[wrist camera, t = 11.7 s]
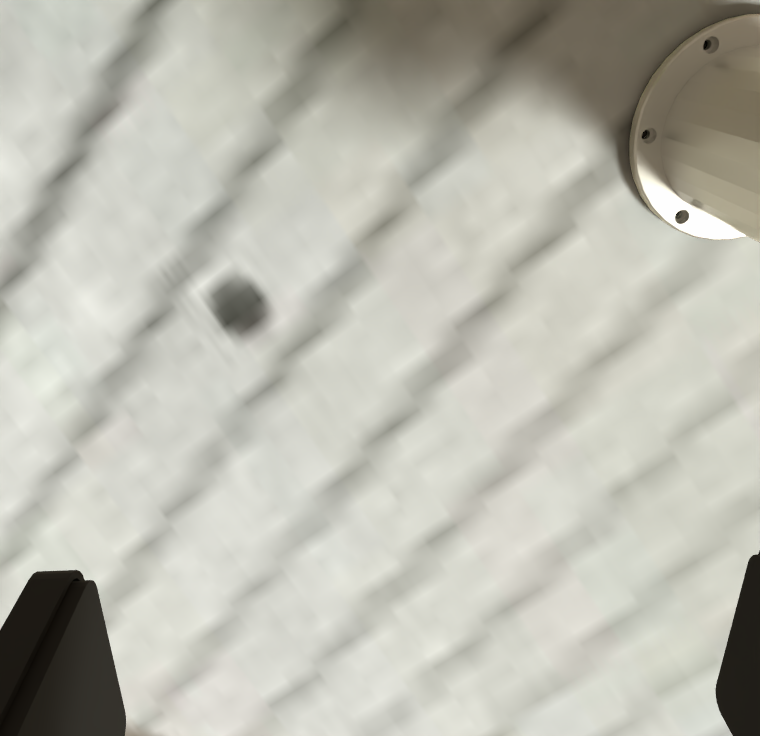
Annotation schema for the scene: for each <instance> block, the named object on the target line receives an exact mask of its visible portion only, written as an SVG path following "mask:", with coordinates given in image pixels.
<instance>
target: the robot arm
mask: <svg viewBox="0 0 760 736" xmlns="http://www.w3.org/2000/svg"><path fill="white" fill-rule="evenodd" d="M705 40H707V42H708V45H707V47H706V48H705V49H704V50H703V44H704V42H705ZM645 130H647V135H646V137H645V138H642V137H641V136H642V133H643V131H645ZM629 160H630V165H631V170H632V175H633V180H634V182H635V184H636V187H637V189H638V191H639V194H640V196H641V197H642V199H643V200H644V202H645V203H646V204H647V206H648V207H649V209H650V210H651V211H652V212H653V213H654V214H655V215H657V216H658V217H659V218H660V219H661V220H662V221H663V222H665V223H666V224H668V225H669V226H671V227H673V228H674V229H676V230H678V231H680V232H683V233H685V234H688V235H690V236H693V237H697V238H703V239H709V240H731V239H736V238H741V237H746V236H748V237H750V238H752V239H754V240H755V241H757V242H759V243H760V14H746V15H742V16H737V17H733V18H728V19H724V20H722V21H720V22H717V23H715V24H713V25H710V26H708V27H706V28H704V29H702V30H701V31H699V32H698V33H696V34H695V35H693V36H692V37H690V38H688V39H687V40H685V41H684V42H683V43H682V44H681V45H680V46H679V47H678V48H676V49H675V50H674V51H673V52H672V53H671V54H670V55H669V56H668V57H667V58H666V59H665V60H664V62H663V63H662V64H661V65H660V67H659V68H658V69H657V71H656V72H655V73H654V74H653V76H652V77H651V79H650V81H649V83H648V84H647V86H646V88H645V90H644V92H643V93H642V95H641V97H640V100H639V103H638V106H637V108H636V111H635V114H634V117H633V121H632V127H631V132H630V138H629ZM679 211H680V213H679V215H678V216H677V217H675V216H676V213H677V212H679ZM716 699H717V704H718V707H719V710H720V712H721V715H722V717H723V718H724V720H725V722H726V724H727V726H728V728H729V729H730V731H731V733H732V735H733V736H760V551H759V554H758V555H753V556H752V557H751V558H750V560H749V562H748V565H747V569H746V573H745V577H744V581H743V584H742V588H741V592H740V596H739V600H738V604H737V607H736V611H735V615H734V619H733V623H732V627H731V630H730V634H729V638H728V642H727V646H726V650H725V653H724V657H723V661H722V665H721V669H720V673H719V676H718V680H717V684H716ZM125 729H126V715H125V709H124V705H123V700H122V696H121V691H120V687H119V683H118V678H117V674H116V669H115V665H114V660H113V656H112V652H111V647H110V643H109V638H108V634H107V630H106V625H105V621H104V616H103V612H102V608H101V603H100V599H99V594H98V590H97V586H96V583H95V582H94V581H92V580H86V581H85V580H84V578H83V575H82V573H81V572H80V571H77V570H68V571H42V572H36V573H34V574H33V575H32V576H31V578H30V579H29V580H28V582H27V584H26V586H25V588H24V589H23V591H22V593H21V595H20V596H19V598H18V600H17V602H16V603H15V605H14V607H13V609H12V610H11V612H10V614H9V616H8V618H7V619H6V621H5V623H4V625H3V626H2V628H1V630H0V736H125Z"/></svg>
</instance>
